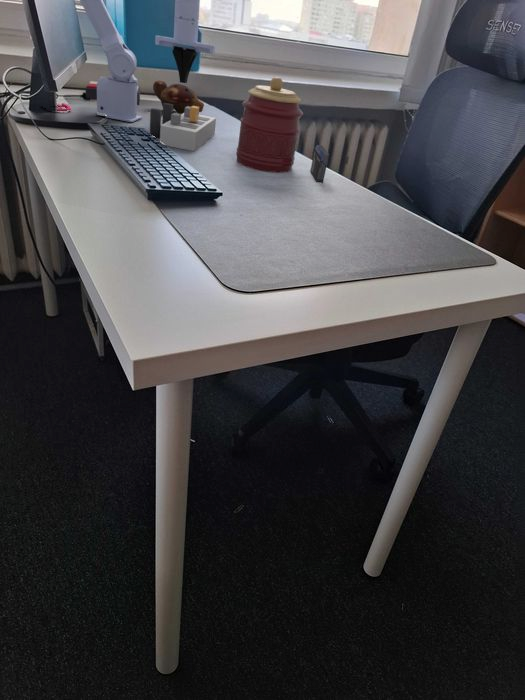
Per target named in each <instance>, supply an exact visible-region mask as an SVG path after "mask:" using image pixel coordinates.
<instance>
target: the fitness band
mask: <svg viewBox="0 0 525 700" xmlns="http://www.w3.org/2000/svg"><path fill="white" fill-rule="evenodd" d="M56 104H57V106H58V107H65V108H66V109H62V108H58V107H57V108H56V110H57V111H67V110H71V111H72V108H71V106H70V105H68V104H66V103H61V104H58V103H56Z"/></svg>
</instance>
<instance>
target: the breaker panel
mask: <svg viewBox="0 0 525 700" xmlns="http://www.w3.org/2000/svg"><path fill="white" fill-rule="evenodd" d="M189 117H190V107H189V106H187V107H185V110H184V113H183V114H178V113H177V112H173V114H171V120H170V121H168V122H166V123H164V124H162V123H161V128H160V138H159V142H160V141H161V142H163V143H164V144H166V145H167V147H171V148H176V149H183V150H187V151H191V152H192V151H193V152H195V151H196V150H198V149H199V148H200V147H202V146H203V145H204V144H205V143H206V142H207V141H209V140H210V139H211V138H212V137H213V136H215V133H216V124H217V123H216V122H217V117H212V116H210V115H209V116H208V115H203V114H199V118H198V121H197V122H192V121H189ZM166 145H165V146H166Z"/></svg>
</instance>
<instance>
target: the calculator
mask: <svg viewBox="0 0 525 700" xmlns="http://www.w3.org/2000/svg"><path fill="white" fill-rule="evenodd" d="M97 83H98V81H93V80H91V81H89V83H88V84H87V85H86V87H85V88H84V91H85V98H86V99H91V100H97ZM140 103H141V87H140V86H139V85H137V106H140Z"/></svg>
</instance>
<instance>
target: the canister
mask: <svg viewBox="0 0 525 700" xmlns="http://www.w3.org/2000/svg"><path fill="white" fill-rule="evenodd" d="M283 85H284V83H283V80H282V78H281V77H279V76H274V77H273V78H271V80H270V85H255V86H254V87H253V88H250V89H249V90H248V91H247V93H248V94H249V97H248V98H247V99H245V100H244V101H243V102H242V104H241V105H242V106H243V108H244V109H243V114H242V118H240V121H239V122H240V126H239V134H238V135H239V136H238V143H237V144H238V145H237V147H236V153H235V155H236V161H237V163H238V164H240V165H242V166H244V167H247V168H250V169H254V170H257V171H262V172H269V173H287V172H290V171H292V168H293V167H294V163H295V154H296V148H297V144H298V138H299V133H300V131H301V130H300V128H299V127H300V126H299V124H300V123H299V122H300V118H301V117H303V116H304V112H303V111H302V110H301V109H300V107H299V106H300V105H299V104H300V103H301V102H302V100H301V98H300V97H299V96H298V95H297V94H296V92H294V91H292V90H289V89H285V88H283Z"/></svg>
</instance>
